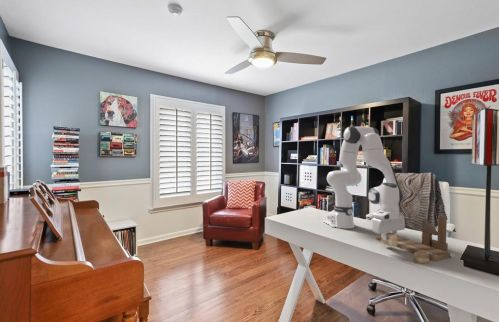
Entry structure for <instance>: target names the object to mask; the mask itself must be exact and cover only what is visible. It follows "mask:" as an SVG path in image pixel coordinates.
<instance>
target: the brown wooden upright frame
mask: <svg viewBox="0 0 499 322" xmlns="http://www.w3.org/2000/svg"><path fill="white" fill-rule="evenodd" d="M447 218H448V217H447V215H444V214H438V216H437V230H436V229H435V227H434V226H433V225H432V224H431V222H429V221H428V220H427V218H422V220H421V221H422V222H421V224H422V225H421V244H424V245H427V246H430V247H433V248H436V249H439V250H442V251H445V252H447V250H448V246H449V245H448V242H447V227H448V226H447V225H448V224H447V223H448V222H447V220H448V219H447ZM433 236H437V240H436V239H433Z"/></svg>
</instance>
